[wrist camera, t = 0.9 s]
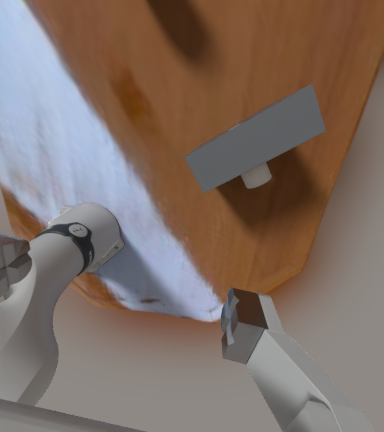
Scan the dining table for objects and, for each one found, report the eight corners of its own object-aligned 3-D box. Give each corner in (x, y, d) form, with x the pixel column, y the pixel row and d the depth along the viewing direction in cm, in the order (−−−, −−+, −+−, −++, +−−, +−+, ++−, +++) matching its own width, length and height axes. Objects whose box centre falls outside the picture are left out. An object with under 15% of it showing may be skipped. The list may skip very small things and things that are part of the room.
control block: (280, 134, 42) (327, 133, 26) (206, 174, 47) (205, 195, 30) (269, 105, 40) (312, 83, 24) (193, 149, 45) (184, 157, 28)
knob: (267, 173, 39) (275, 178, 35) (244, 184, 40) (248, 191, 36) (245, 120, 36) (250, 117, 31) (220, 134, 37) (222, 134, 33)
